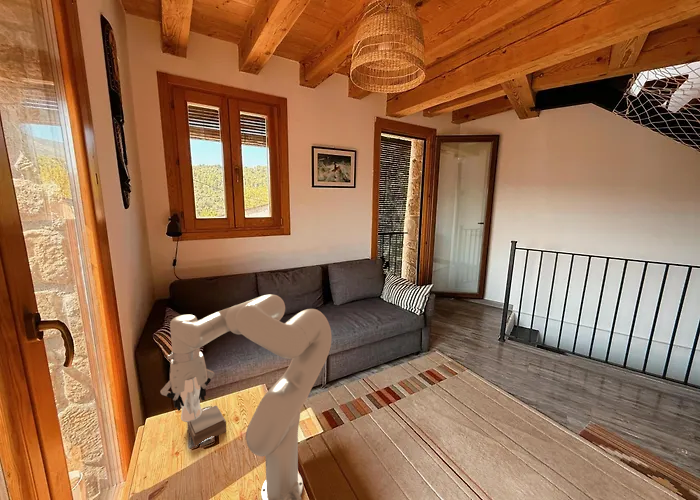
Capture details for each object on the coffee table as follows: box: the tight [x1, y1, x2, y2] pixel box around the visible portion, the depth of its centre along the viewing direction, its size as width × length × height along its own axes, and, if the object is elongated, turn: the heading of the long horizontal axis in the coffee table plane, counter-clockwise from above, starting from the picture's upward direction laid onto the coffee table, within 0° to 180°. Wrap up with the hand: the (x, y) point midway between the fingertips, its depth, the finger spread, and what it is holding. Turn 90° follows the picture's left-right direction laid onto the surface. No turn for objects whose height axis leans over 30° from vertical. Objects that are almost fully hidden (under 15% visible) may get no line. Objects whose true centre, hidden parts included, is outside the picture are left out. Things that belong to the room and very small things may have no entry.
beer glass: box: [179, 376, 203, 423], centre depth 94 cm, size 7×7×15 cm
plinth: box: [186, 405, 227, 447], centre depth 110 cm, size 11×11×5 cm
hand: (190, 402), depth 94 cm, fingers closed on beer glass, 6 cm apart
